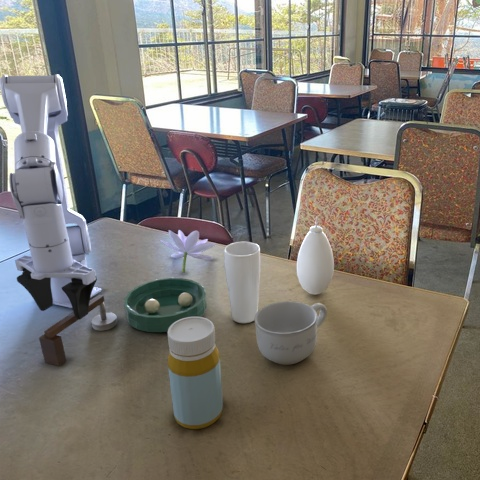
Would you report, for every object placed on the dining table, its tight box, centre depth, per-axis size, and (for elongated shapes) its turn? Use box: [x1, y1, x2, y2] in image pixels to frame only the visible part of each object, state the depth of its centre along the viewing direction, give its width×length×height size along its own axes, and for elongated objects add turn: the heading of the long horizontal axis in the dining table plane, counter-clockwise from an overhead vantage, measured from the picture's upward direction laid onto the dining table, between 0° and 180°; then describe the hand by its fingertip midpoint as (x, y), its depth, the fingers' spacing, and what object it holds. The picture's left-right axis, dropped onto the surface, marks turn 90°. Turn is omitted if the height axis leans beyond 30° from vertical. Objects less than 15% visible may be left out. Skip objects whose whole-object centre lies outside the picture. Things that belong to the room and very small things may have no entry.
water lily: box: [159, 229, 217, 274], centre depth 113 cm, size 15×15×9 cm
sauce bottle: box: [296, 215, 335, 296], centre depth 101 cm, size 8×8×18 cm
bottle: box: [167, 316, 224, 430], centre depth 68 cm, size 7×7×15 cm
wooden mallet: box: [38, 294, 118, 367], centre depth 86 cm, size 15×4×6 cm, turn 163°
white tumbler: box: [223, 241, 262, 324], centre depth 92 cm, size 7×7×15 cm
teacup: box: [253, 300, 328, 366], centre depth 84 cm, size 14×11×8 cm
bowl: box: [123, 277, 208, 333], centre depth 95 cm, size 15×15×4 cm
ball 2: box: [178, 293, 192, 307], centre depth 96 cm, size 3×3×3 cm
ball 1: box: [144, 299, 160, 313], centre depth 94 cm, size 3×3×3 cm
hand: (64, 312), depth 83 cm, fingers open, 7 cm apart
